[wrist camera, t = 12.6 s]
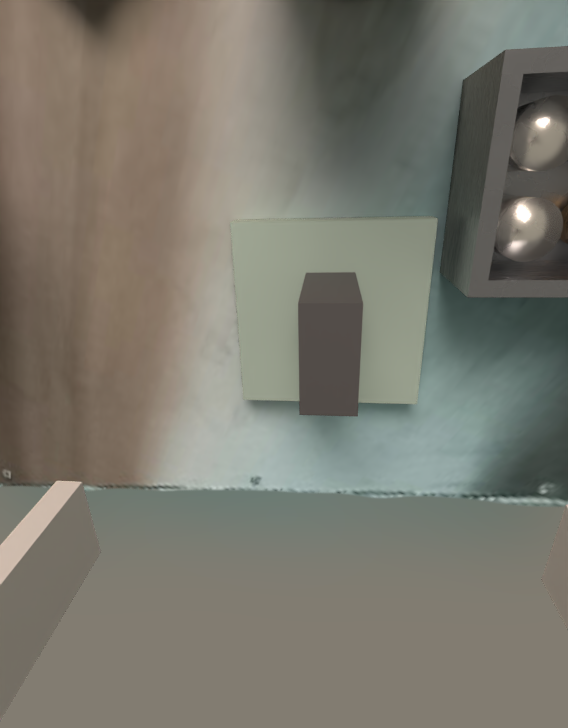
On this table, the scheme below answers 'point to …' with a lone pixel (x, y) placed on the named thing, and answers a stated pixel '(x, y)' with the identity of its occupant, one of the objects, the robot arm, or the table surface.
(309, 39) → the table surface
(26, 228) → the table surface
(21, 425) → the table surface
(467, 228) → the instrument box
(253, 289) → the lid
